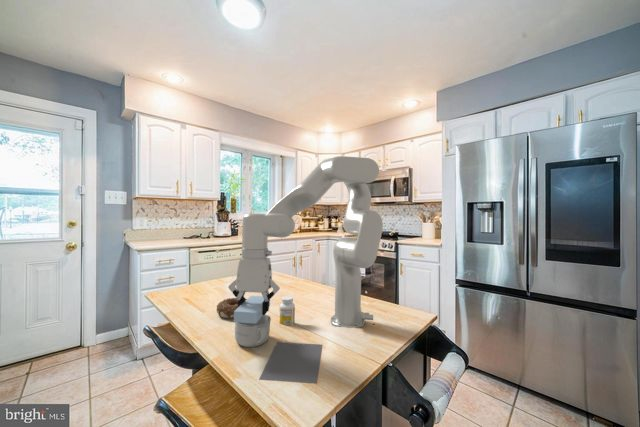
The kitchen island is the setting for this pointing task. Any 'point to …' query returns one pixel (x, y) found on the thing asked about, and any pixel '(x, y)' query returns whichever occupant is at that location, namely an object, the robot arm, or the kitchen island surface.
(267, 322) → the teacup
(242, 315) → the light blue block
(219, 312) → the donut
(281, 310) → the supplement bottle
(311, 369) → the mat
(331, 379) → the kitchen island surface
